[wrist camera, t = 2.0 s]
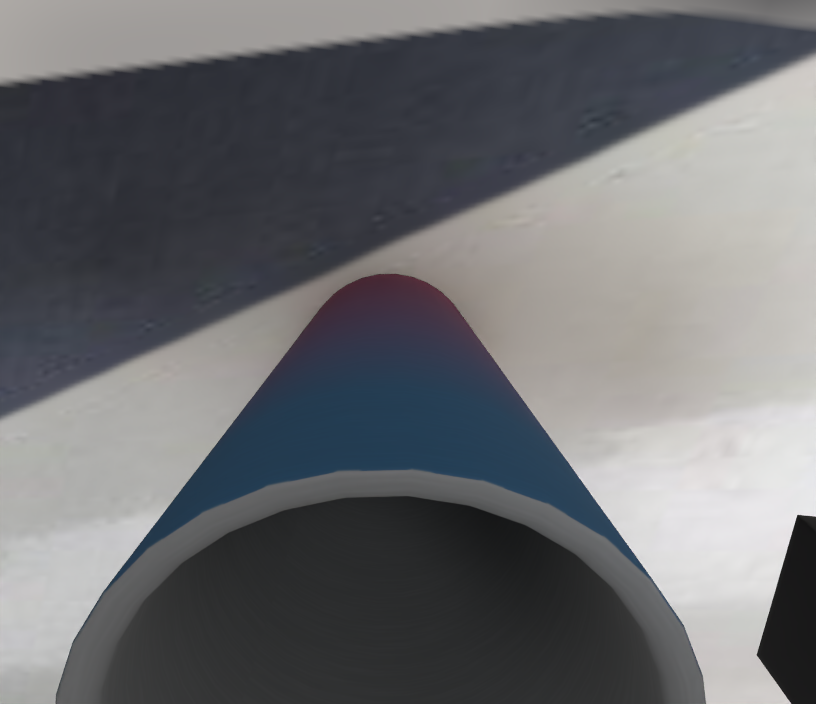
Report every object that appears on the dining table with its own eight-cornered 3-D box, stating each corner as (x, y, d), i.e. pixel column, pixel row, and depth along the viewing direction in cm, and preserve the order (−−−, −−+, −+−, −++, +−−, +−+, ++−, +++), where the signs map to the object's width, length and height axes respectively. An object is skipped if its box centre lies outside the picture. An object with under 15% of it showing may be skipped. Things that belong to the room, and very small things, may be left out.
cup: (401, 194, 20) (426, 319, 6) (544, 365, 22) (833, 788, 8) (230, 343, 22) (-92, 745, 7) (377, 496, 23) (355, 1078, 9)
